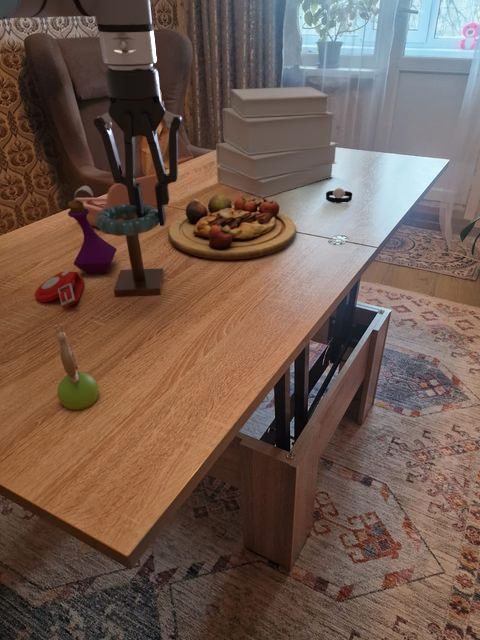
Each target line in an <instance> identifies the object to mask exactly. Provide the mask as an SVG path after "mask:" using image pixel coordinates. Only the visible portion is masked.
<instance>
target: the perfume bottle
mask: <svg viewBox="0 0 480 640" xmlns="http://www.w3.org/2000/svg"><path fill="white" fill-rule="evenodd" d="M79 191H85V192H87V193H88V194H89V195H90V196H91V198H94V192H93V191H92V189H91V188H90V187H89V186H88V185H82V186H81V187H79V188H77V189H76V191H75V192H74V198H75V200H74V199H73V200H70V201H69V202H68V203H67V206H68V208H69V210H68V212H67V215H68V217H69V218H73V219H74V220H75V221H76V222H77V223H78V224H79V227H80V229H81V230H82V234H83V242H82V243H81V247H80V250H79V251H78V254H77V255H76V257H75V259H74V261H73V266H75V267H76V268H78V269H80V271H82V272H83V273H85V274H86V275H105V274H107V273H108V271H109V269H110V267H111V265H112V262H113V260H114V257H115V255H116V252H117V248H116V247H115V246H113V245H112V244H110V243H109V242H107V241H106V240H104V239H103V238H102V237H101V236H100V235H99V234H98V233H97V232H96V231H95V229H94V227H93V226H91V225H90V224H89V222H88V220H87V214H88V213H89V211H88V209H86V208H84V205H83V202H81V201H79V200H76V198H77V197H76V196H77V194H78V192H79Z"/></svg>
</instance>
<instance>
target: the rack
mask: <svg viewBox="0 0 480 640" xmlns="http://www.w3.org/2000/svg"><path fill="white" fill-rule="evenodd" d="M133 219H136V217H127V218H123V220H133ZM125 240H126V246H127V251H128V258H129V262H130V269H120V270H119V273H118V276H117V279H116V282H115V285H114V288H113V294H114V297H117V298H118V297H139V296H160V295H161V293H162V288H163V283H164V276H165V270H164V268H163V267H161V268H144V262H143V255H142V249H141V243H140V236H139V234H136V235H125Z"/></svg>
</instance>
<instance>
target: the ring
mask: <svg viewBox="0 0 480 640" xmlns="http://www.w3.org/2000/svg"><path fill="white" fill-rule="evenodd" d="M144 211H145V216H144V217H142V218H138V219H133V220H123V221H117V220H118V219H123V218H127V217H138V214H137V208H136V206H131V205H130V203H127V204H120V205H115V206H111V207H108V208H106V209H104V210H102V211H100V212H99V214H98V215H97V217H96V219H95V224H96V226H97V227H96V228H98V229H99V230H100V231H101V232H102V233H104V234H106V235H111V236H116V237H123V236H124V237H125V236H126V235H136V234H138V235H139V234H145V233H148V232H150V231H152V230H153V229H155V228H156V227H158V226H159V225H160V223H159V216H158V210H157V209H156V208H154V207H153V206H151V205H147V204H144Z"/></svg>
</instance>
